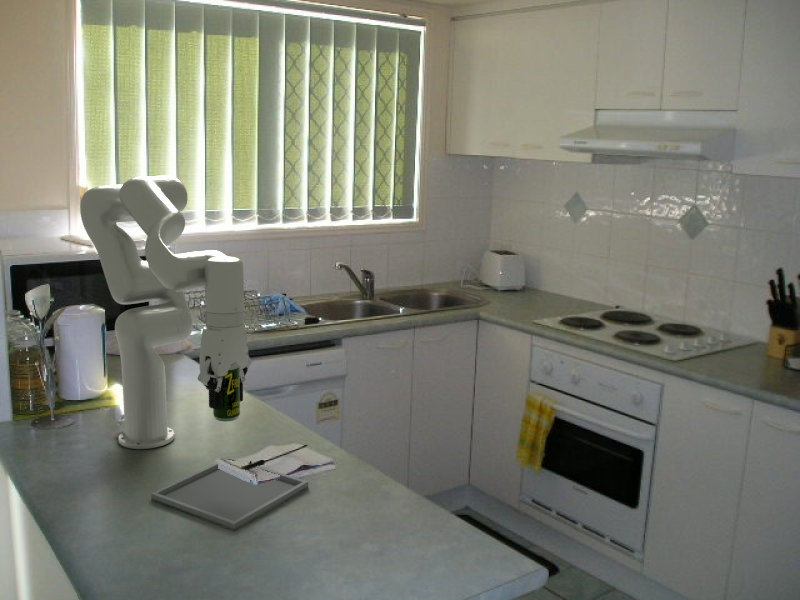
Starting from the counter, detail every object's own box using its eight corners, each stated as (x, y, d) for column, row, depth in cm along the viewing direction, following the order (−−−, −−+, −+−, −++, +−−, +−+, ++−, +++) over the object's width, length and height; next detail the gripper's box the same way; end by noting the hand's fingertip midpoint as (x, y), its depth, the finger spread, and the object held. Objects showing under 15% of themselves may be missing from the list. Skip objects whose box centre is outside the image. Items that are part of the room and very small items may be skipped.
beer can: (207, 418, 169) (206, 362, 167) (224, 410, 174) (224, 356, 171) (228, 424, 167) (227, 367, 164) (245, 415, 172) (244, 360, 169)
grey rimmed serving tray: (151, 500, 164) (151, 493, 164) (229, 463, 182) (228, 456, 182) (234, 531, 153) (234, 523, 153) (308, 488, 171) (308, 481, 171)
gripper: (238, 307, 175) (239, 389, 179) (180, 324, 160) (182, 412, 164) (266, 313, 171) (267, 396, 175) (209, 330, 157) (211, 420, 161)
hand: (226, 403), depth 170 cm, fingers closed on beer can, 5 cm apart
